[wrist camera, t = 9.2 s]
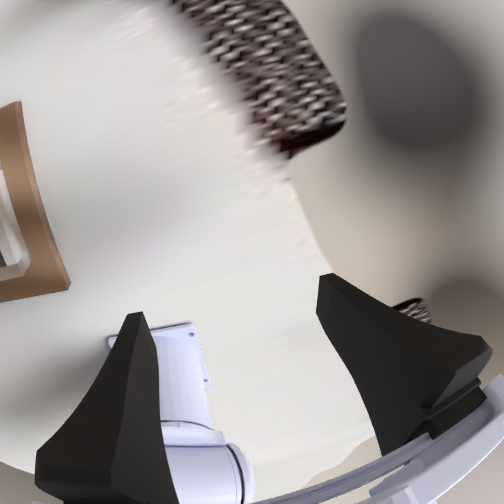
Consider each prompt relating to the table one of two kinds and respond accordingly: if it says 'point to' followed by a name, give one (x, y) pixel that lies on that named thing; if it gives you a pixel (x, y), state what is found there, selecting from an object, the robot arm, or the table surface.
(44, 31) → the table surface
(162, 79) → the table surface
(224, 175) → the table surface
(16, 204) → the walnut housing
